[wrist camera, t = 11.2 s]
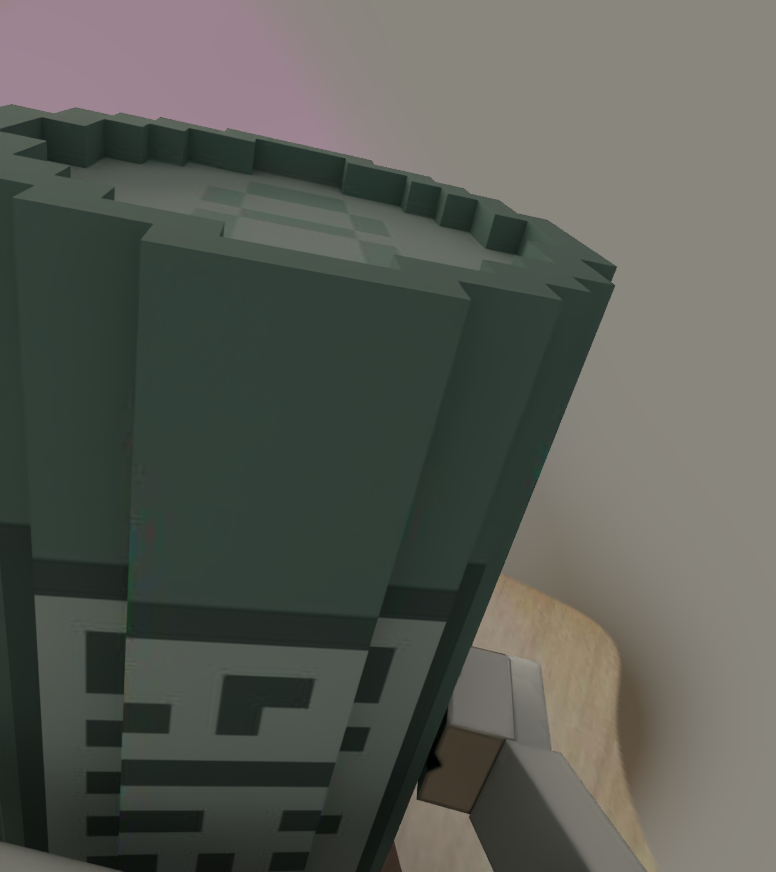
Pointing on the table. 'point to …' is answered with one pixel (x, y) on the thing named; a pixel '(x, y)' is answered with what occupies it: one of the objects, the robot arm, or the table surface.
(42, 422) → the can
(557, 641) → the table surface
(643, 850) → the table surface
